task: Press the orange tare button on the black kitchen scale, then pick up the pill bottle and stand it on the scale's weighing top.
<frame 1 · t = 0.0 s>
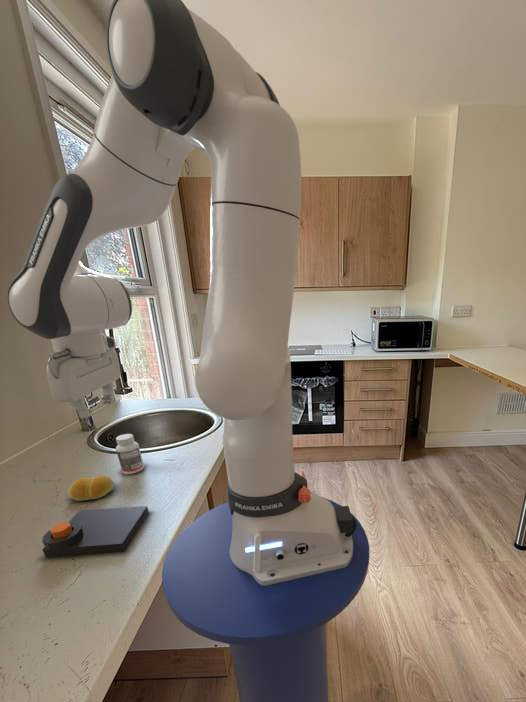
hand: (98, 409, 76), 21 cm above the countertop, tool pointing down, fingers open, 8 cm apart
pill bottle: (133, 470, 94), on the countertop
tare button: (61, 530, 65), point 4 cm above the countertop, slide at 0.1 cm
scale: (101, 533, 70), on the countertop
bread roll: (92, 493, 84), on the countertop
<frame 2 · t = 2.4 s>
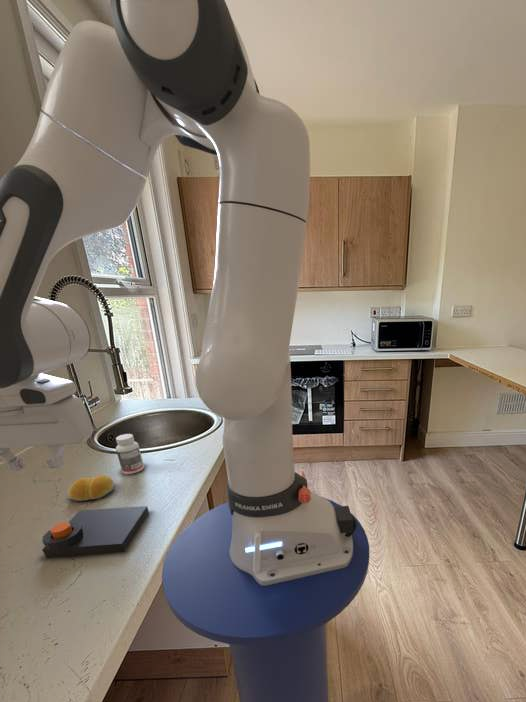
hand: (37, 467, 60), 17 cm above the countertop, tool pointing down, fingers open, 5 cm apart
nothing on the countertop moved.
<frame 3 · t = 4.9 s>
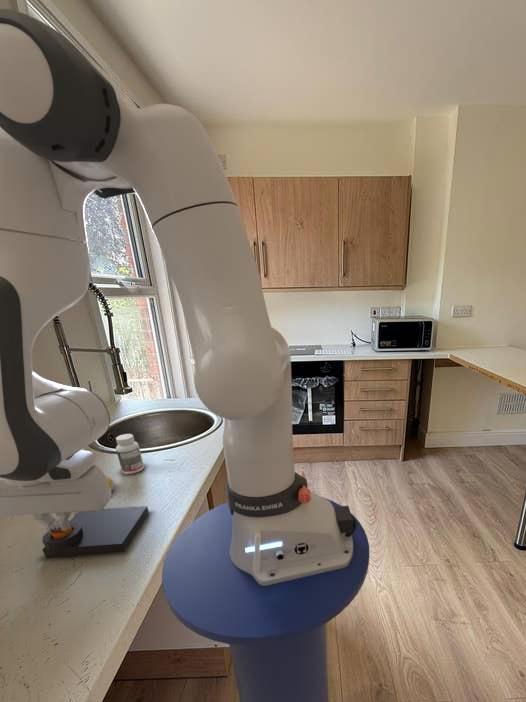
hand: (59, 529, 65), 4 cm above the countertop, tool pointing down, fingers closed, pressing on tare button
tare button: (62, 533, 65), point 3 cm above the countertop, slide at -0.5 cm, touching gripper
everything else where it was.
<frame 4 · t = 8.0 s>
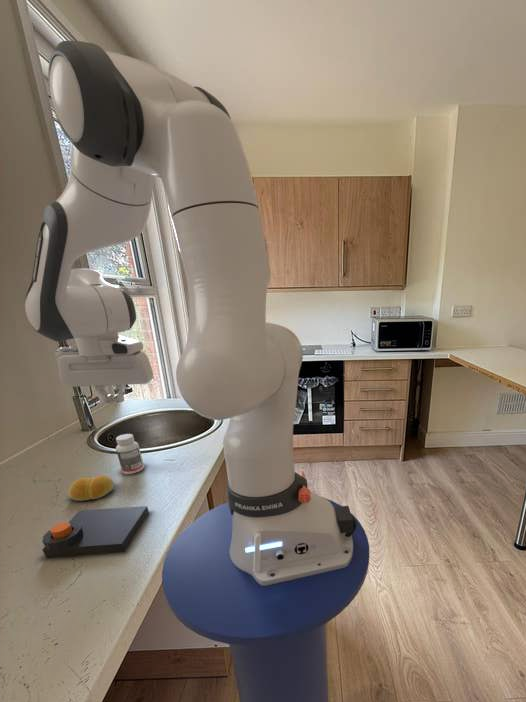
hand: (114, 402, 87), 19 cm above the countertop, tool pointing down, fingers closed
tare button: (61, 530, 65), point 4 cm above the countertop, slide at 0.1 cm
everything else where it was.
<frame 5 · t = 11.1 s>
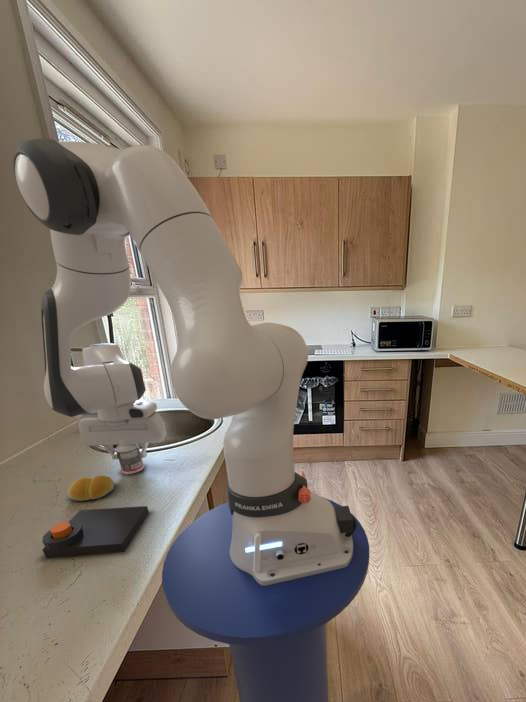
hand: (130, 457, 93), 4 cm above the countertop, tool pointing down, fingers closed on pill bottle, 5 cm apart
pill bottle: (133, 470, 94), on the countertop, touching gripper
everything else where it was.
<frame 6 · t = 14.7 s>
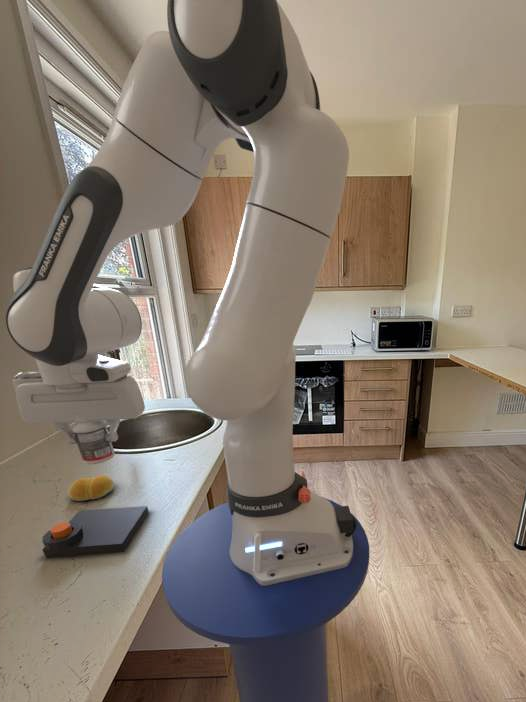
hand: (94, 441, 66), 19 cm above the countertop, tool pointing down, fingers closed on pill bottle, 5 cm apart
pill bottle: (99, 459, 67), point 15 cm above the countertop, touching gripper
everything else where it was.
when the fingers open (5 cm above the countertop, at t = 18.4 s): pill bottle stays where it is, resting on scale.
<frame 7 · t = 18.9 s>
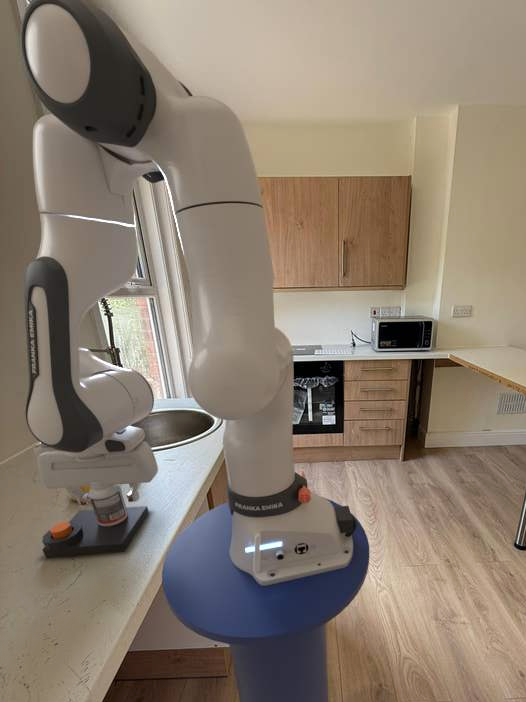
hand: (110, 501, 69), 6 cm above the countertop, tool pointing down, fingers open, 8 cm apart
pill bottle: (113, 519, 71), point 2 cm above the countertop, touching scale
everything else where it was.
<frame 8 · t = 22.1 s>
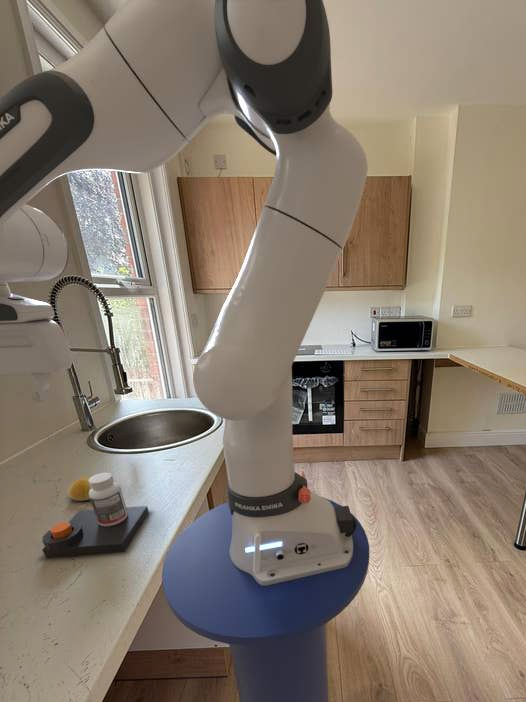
hand: (12, 402, 54), 29 cm above the countertop, tool pointing down, fingers open, 8 cm apart
nothing on the countertop moved.
at the end: tare button pushed in 0.9 cm at the most during the clip, back to where it started at the end; pill bottle inside the target area on the scale (2.6 cm from its centre), point 1.7 cm above the scale's base; pill bottle touching scale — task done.
